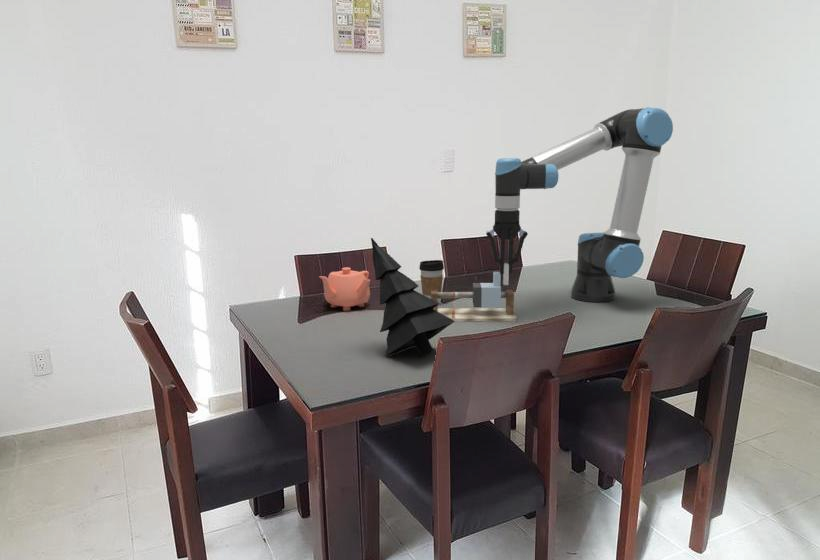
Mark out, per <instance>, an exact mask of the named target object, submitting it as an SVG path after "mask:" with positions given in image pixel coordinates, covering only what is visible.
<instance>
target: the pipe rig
mask: <svg viewBox="0 0 820 560" xmlns="http://www.w3.org/2000/svg"><path fill="white" fill-rule="evenodd" d="M438 298H441V299H473V298H474V292H473V291H459V292H458V291H441V292H437V291H431V299H432V300H434V301H436V302H438ZM501 299H505V307H503V308H502V307H468V308H466V307H465V308H463V307H461V308H458V307H457V308H449V307H448V308H447V307H446V308H445V307H443V308H441V307H440V308H438V307H439V305H437V306H436V307H434V308H433V309H434V310H436V311H437V312H439V313H441V314H443V315H445V316H446V317H448V318H450V319H452V320H453V321H455V322H456V323H458V322H460V323H462V322H463V323H465V322H470V323H472V322H473V323H475V322H474V321H484V322H486V321H487V322H486V323H490V322H491V323H493V322H505V323H506V322H517V321H518V320H517V319H518V318H517V315H516V314H515V292H514V290H513V289H511V290H509V289H507V290H505V291H501ZM455 322H454V323H455ZM484 322H483V323H484Z"/></svg>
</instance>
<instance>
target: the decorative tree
mask: <svg viewBox="0 0 820 560" xmlns="http://www.w3.org/2000/svg"><path fill="white" fill-rule="evenodd" d="M370 240H371V248H372V262H373V266H374V276H375V281H379V305H384V304H385V307H384V311H383V318H382V324H381V328H380V331H379V333H382V332H386V331H388V333H387V336H386V351H385V355H384V357H388V356H392V355H396V354H398V353H401V352H403V351H406V350H408V349H412V348H415V347H416V349H417V351H418V354H419V355H420V357H424V356H426V355H428V354H430V353H431V352H434V349H433V346H432V345H431V343H430V340H431V339H433V338H434V337H436V336H437V335H438V334H440V333H441V332H442V331H443V330H445V329H446V328H447V327H449V326H450V325H453V324H454V323H455V321H453V320H452V319H450V318H448V317H446V316H445V315H443V314H441V313H439V312H437V311H436V310H434V309H433V308H434V307H436V306H437V305H438V304H440V305H441V302H440V303H438V302H436V301H434V300H432V299H430V298H428V297H426V296H424V295H423V294H422V293H420V292H418V291H416V289H417V288H419V284H418V283H416V282H415V281H414V280H413V279H412V278H410V277H408V276H407V275H406V274H404V273H402V271H399V270H400V269H401V268H402V266H401V264H400V263H398V261H396V259H394V258H393V257H392V256H391V255H390V254H389V253H388V252H386V251H385V250H384V249H383V248H382V247H381V246H379V245H378V243H377V241H375V240H374V238H373V237H371V238H370ZM438 306H439V305H438Z"/></svg>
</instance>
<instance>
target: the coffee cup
mask: <svg viewBox="0 0 820 560" xmlns="http://www.w3.org/2000/svg"><path fill="white" fill-rule="evenodd" d="M418 268H419V270H420V283H421V284H420V285H421V294H422V295H424V296H426V297H428V298H430V299H431V291H437V292H442V289H443V288H442V287H443V278H444V274H443V270H444V269H445V266H444V260H442V259H436V260H435V259H433V260H422V261H420V263H419V267H418ZM441 300H442V298H438V303H440V304H438V306H439V305H441Z"/></svg>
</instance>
